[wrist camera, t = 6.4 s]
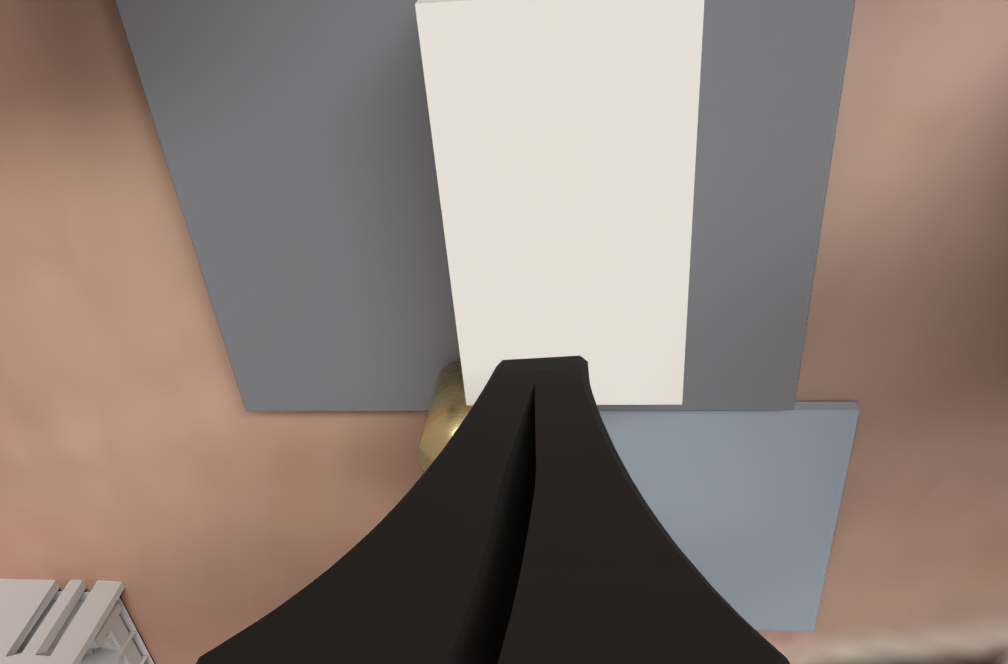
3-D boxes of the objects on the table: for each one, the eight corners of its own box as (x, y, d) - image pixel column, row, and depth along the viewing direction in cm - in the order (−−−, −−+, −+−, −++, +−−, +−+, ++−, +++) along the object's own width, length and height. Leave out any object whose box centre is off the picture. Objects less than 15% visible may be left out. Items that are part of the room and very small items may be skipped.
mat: (855, 401, 24) (860, 409, 23) (811, 622, 29) (814, 631, 29) (578, 402, 25) (578, 411, 24) (586, 616, 30) (586, 625, 30)
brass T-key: (409, 372, 23) (386, 442, 21) (509, 348, 22) (498, 418, 20) (501, 557, 27) (492, 635, 25) (589, 542, 26) (589, 621, 24)
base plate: (867, -181, 16) (882, -179, 15) (786, 387, 24) (793, 409, 23) (103, -117, 18) (79, -113, 17) (257, 391, 26) (245, 411, 25)
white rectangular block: (685, -49, 17) (705, -14, 14) (670, 321, 22) (682, 404, 19) (444, -33, 17) (414, 4, 14) (482, 324, 22) (466, 405, 19)
